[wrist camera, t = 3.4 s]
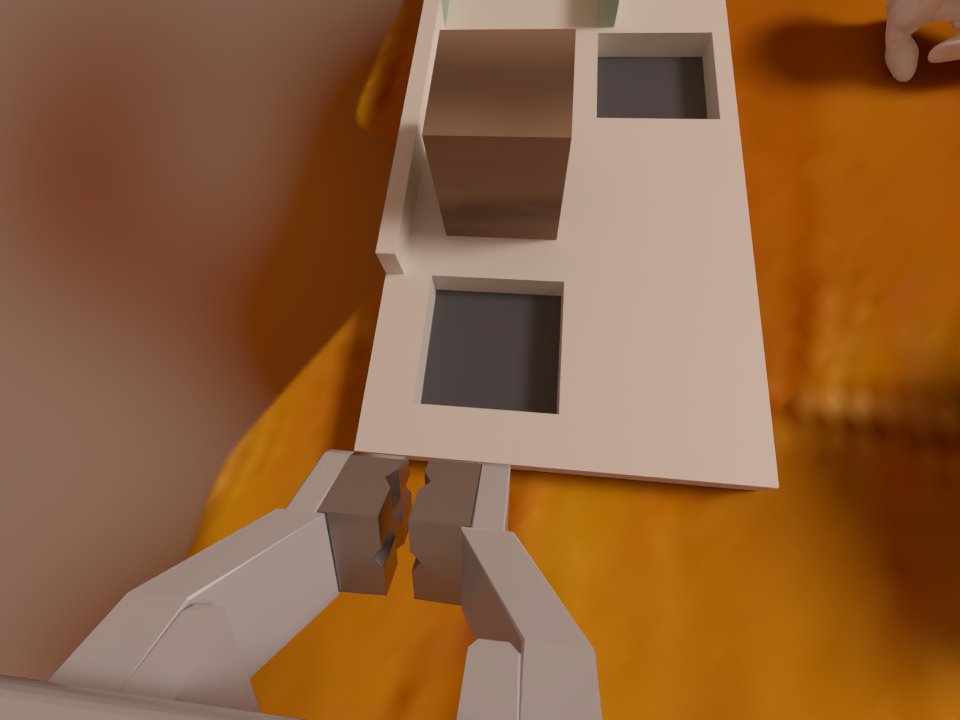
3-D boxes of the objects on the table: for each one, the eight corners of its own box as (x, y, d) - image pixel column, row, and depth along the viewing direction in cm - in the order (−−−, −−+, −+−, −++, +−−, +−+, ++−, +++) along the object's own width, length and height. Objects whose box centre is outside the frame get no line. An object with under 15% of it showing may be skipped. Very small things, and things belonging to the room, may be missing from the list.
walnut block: (556, 239, 25) (571, 137, 18) (446, 235, 25) (421, 135, 19) (560, 150, 26) (575, 28, 20) (458, 148, 27) (439, 29, 20)
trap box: (756, 490, 22) (823, 483, 17) (366, 456, 24) (329, 440, 19) (707, -25, 33) (739, -115, 28) (448, -20, 35) (437, -104, 30)
